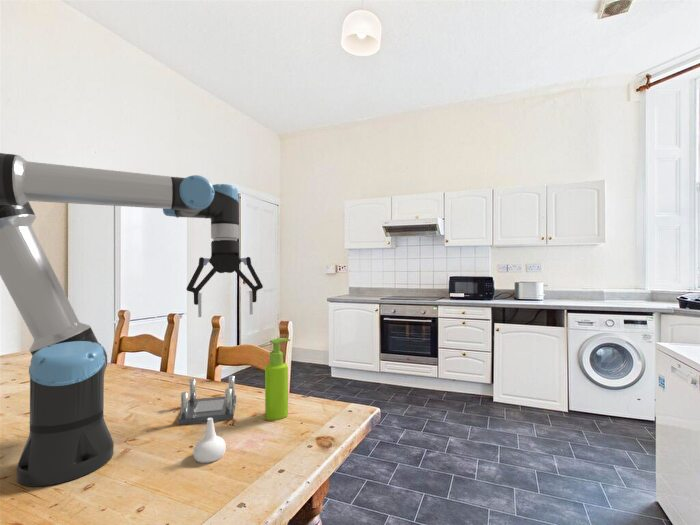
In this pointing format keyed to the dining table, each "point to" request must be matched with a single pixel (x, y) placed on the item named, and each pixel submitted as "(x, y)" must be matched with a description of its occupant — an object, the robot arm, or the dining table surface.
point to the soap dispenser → (276, 383)
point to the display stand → (207, 405)
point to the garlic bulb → (209, 445)
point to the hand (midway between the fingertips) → (226, 315)
